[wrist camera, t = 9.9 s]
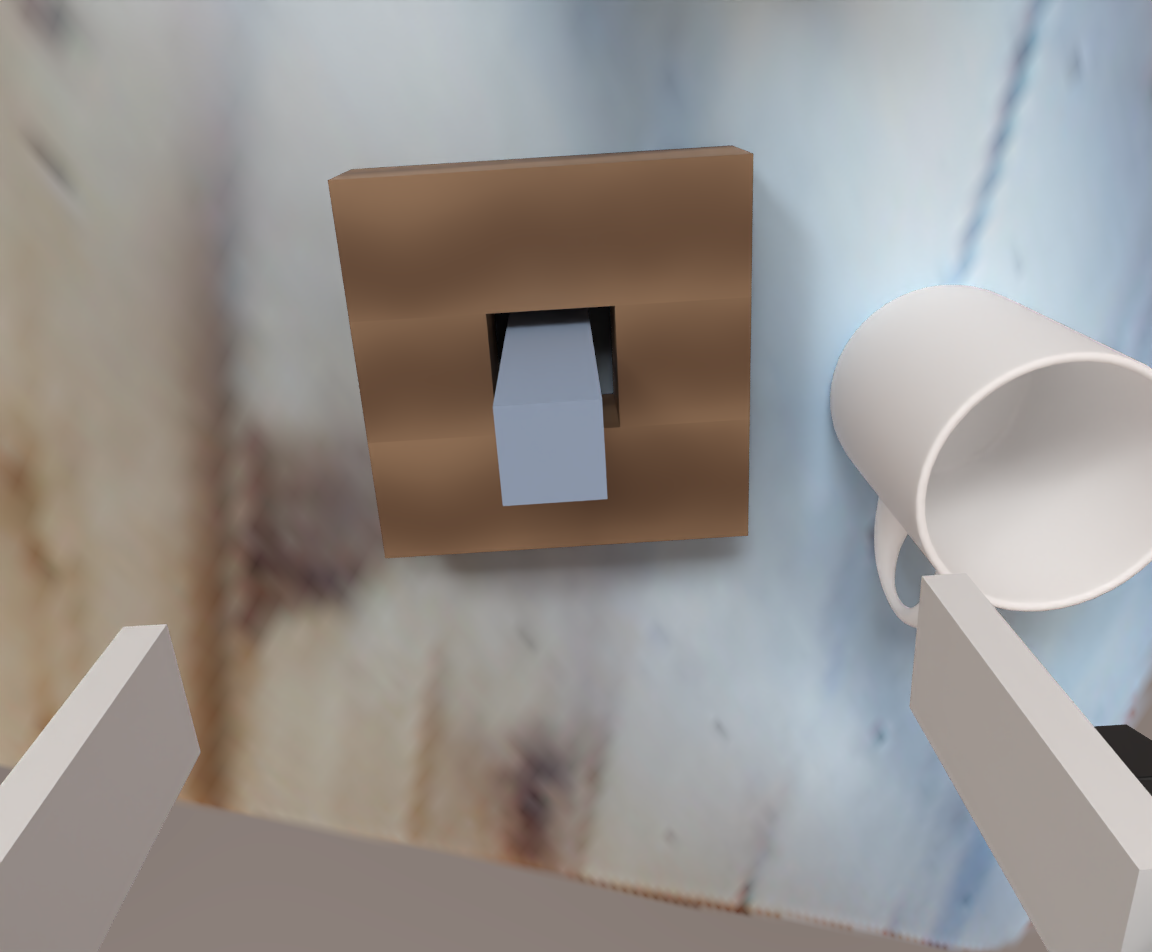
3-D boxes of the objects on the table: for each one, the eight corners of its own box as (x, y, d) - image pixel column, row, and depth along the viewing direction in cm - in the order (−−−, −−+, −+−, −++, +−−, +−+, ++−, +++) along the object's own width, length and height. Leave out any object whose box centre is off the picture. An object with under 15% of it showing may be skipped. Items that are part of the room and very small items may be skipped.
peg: (510, 308, 37) (493, 406, 26) (586, 303, 37) (601, 399, 26) (516, 382, 38) (502, 506, 27) (591, 377, 38) (607, 499, 27)
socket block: (351, 169, 35) (327, 180, 31) (732, 145, 35) (753, 153, 31) (400, 514, 40) (385, 558, 37) (730, 493, 40) (748, 535, 37)
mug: (760, 520, 41) (826, 661, 31) (877, 250, 37) (998, 314, 27) (940, 572, 42) (1059, 723, 32) (1074, 316, 38) (1259, 401, 28)
